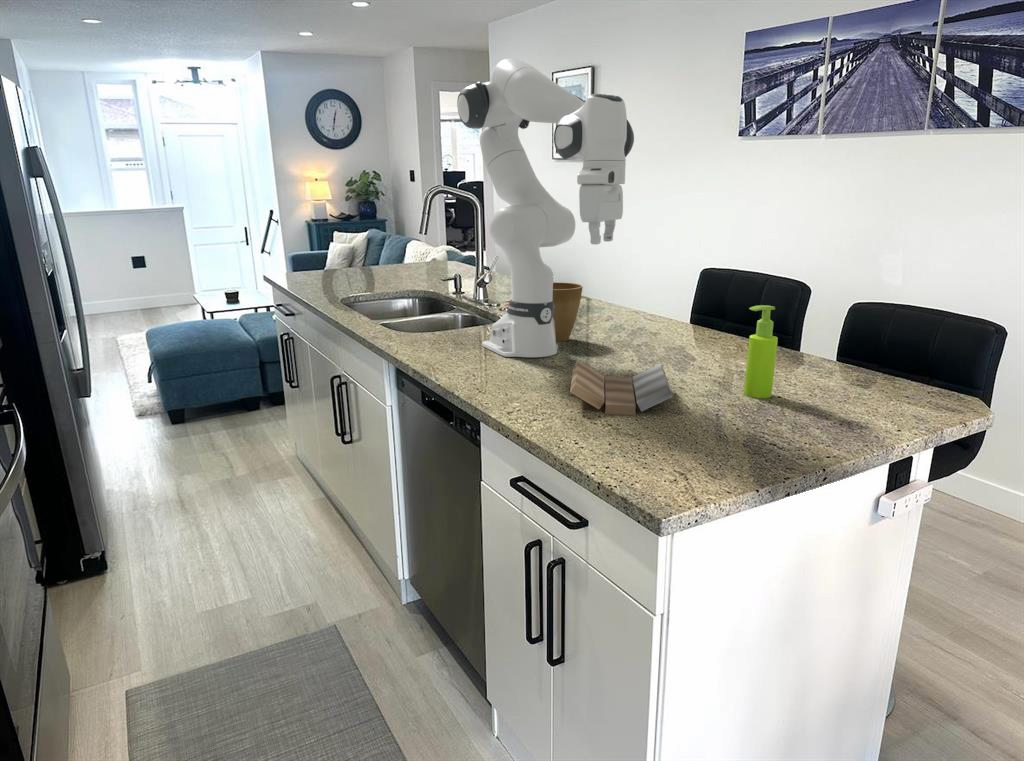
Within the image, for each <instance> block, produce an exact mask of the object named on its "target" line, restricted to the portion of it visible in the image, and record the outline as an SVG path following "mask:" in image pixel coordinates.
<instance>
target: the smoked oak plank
mask: <svg viewBox="0 0 1024 761" xmlns="http://www.w3.org/2000/svg"><path fill="white" fill-rule="evenodd" d="M604 382H605V375H603V373H600V372H598V371H596V370H595V369H593V368H592V367H591V366H588V365H587V364H585V363H584V362H582V361H580V360H579V359H578V360H576V363H575V364H574V365H573V367H572V373H571V383H570V389H569V390H570V391H569V392H570V394H573V395H574V396H576V397H578V398H579V399H581V400H582V401H584V402H586V403H588V404H589V405H591V406H592V407H594V408H595V409H597V410H600V409H601V407H602V406H603V405H604V404H605V388H604Z"/></svg>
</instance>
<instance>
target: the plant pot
mask: <svg viewBox="0 0 1024 761" xmlns="http://www.w3.org/2000/svg"><path fill="white" fill-rule="evenodd" d="M583 288H584V287H583V285H582V284H580V283H573V282H572V283H571V282H554V281H553V301H554V306H555V308H554V314H553V319H554V322H555V336H556V343H561V342H567V341H569V339H570V337H571V334H572V331H573V329H574V326H575V324H576V320H577V316H578V313H579V308H580V306H581V300H582V295H583V294H582V293H583Z"/></svg>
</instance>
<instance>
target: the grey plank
mask: <svg viewBox="0 0 1024 761" xmlns="http://www.w3.org/2000/svg"><path fill="white" fill-rule="evenodd" d="M666 374H667V373H666V372H665V369H664V368H663V366H662V364H661V363H658V364H656V365H654V366H652V367H650V368H648V369H646V370H644V371H642V372H640V373H638V374H636V375H633V376H631V379H632V384H633V390H634V396H635V402H636V405H637V406H638V408H639V410H640V412H641V413H642V412H644V411H646V410H648V409H650V408H651V407H654V406H656V405H658V404H661V403H662V402H664V401H667V400H669V399H671V398H673V396H674V395H673V393H672V390H671V387H670V386H671V385H670V384H669V379H668V378H667V375H666Z"/></svg>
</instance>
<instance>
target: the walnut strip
mask: <svg viewBox="0 0 1024 761" xmlns="http://www.w3.org/2000/svg"><path fill="white" fill-rule="evenodd" d="M604 401H605V402H604V410H605V412H604V413H605V415H619V416H620V415H621V416H622V415H623V416H636V407H637V406H636V405H637V403H636V397H635V391H634V385H633V379H632V376H617V375H616V376H615V375H604Z"/></svg>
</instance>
